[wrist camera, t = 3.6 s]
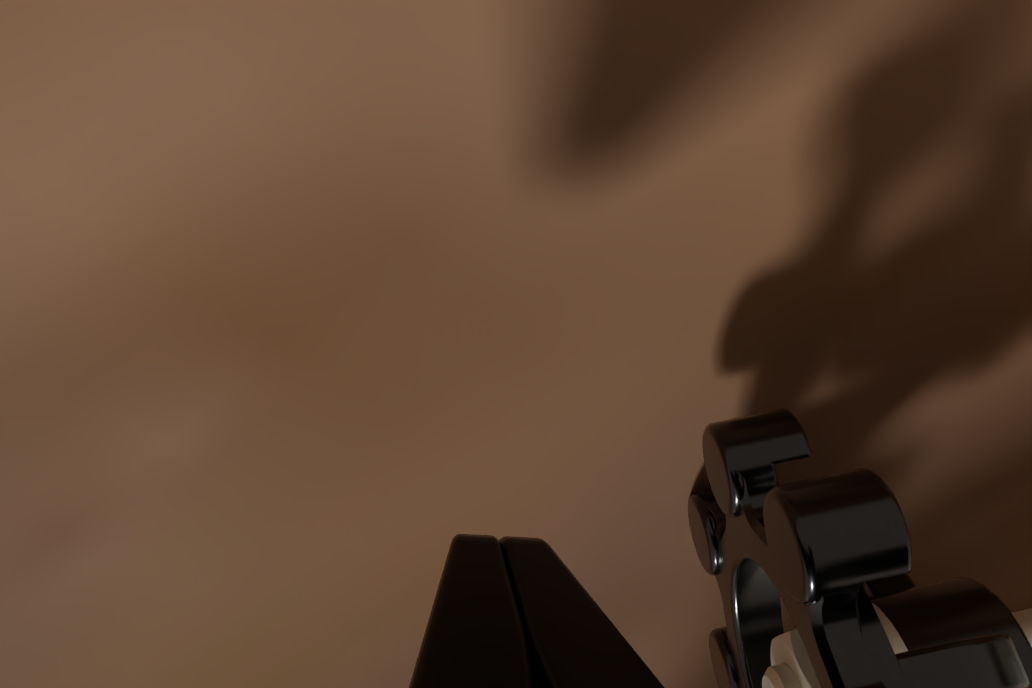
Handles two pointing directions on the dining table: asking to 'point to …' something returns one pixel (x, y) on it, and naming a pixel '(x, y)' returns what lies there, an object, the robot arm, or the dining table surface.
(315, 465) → the dining table surface
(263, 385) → the dining table surface
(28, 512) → the dining table surface
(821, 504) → the valve
